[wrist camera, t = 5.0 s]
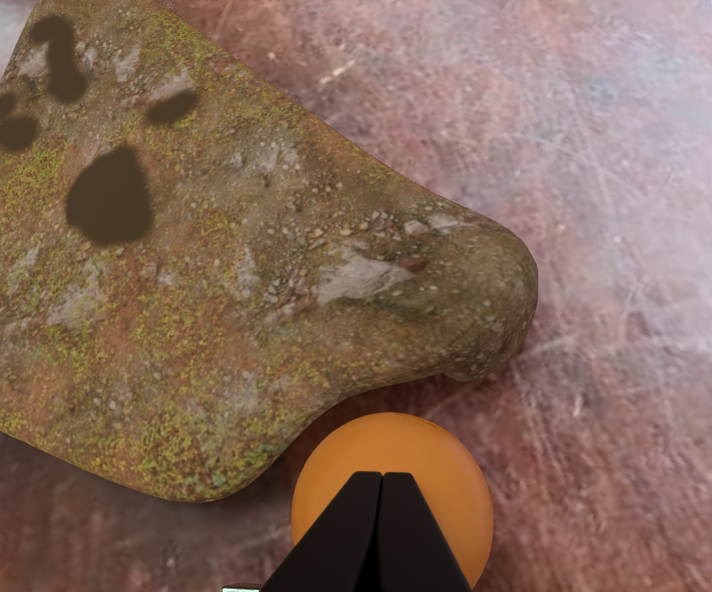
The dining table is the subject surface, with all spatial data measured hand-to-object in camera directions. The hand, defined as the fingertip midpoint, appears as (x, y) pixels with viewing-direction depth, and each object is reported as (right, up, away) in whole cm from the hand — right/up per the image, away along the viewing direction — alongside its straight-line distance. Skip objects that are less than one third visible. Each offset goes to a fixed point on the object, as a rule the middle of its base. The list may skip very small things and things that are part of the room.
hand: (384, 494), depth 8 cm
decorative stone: (-9, +5, +12) cm, 16 cm away
